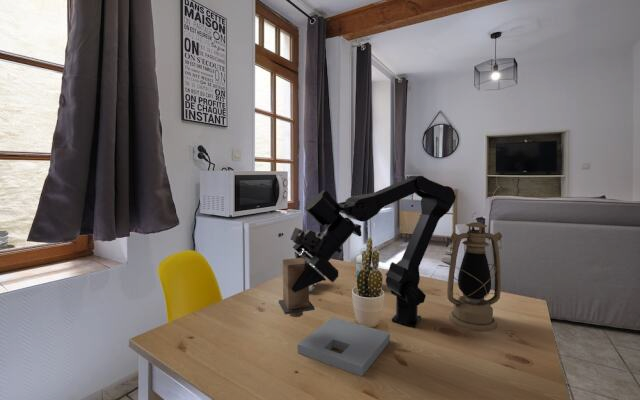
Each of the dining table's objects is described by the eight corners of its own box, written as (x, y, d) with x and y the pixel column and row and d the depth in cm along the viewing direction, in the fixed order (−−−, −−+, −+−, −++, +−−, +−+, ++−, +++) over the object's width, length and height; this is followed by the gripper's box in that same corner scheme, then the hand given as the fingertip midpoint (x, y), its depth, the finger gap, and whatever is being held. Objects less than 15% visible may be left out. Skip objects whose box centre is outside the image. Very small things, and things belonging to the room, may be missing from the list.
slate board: (332, 324, 86) (332, 317, 86) (389, 341, 78) (390, 333, 78) (297, 352, 73) (297, 344, 73) (362, 376, 64) (362, 367, 64)
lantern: (487, 310, 94) (491, 209, 92) (511, 330, 83) (518, 215, 80) (438, 311, 94) (441, 210, 92) (456, 331, 82) (460, 215, 80)
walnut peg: (305, 306, 82) (305, 256, 80) (314, 318, 75) (314, 263, 74) (278, 310, 79) (277, 259, 78) (285, 323, 73) (284, 267, 71)
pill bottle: (376, 283, 118) (377, 247, 117) (378, 290, 110) (378, 252, 109) (355, 282, 119) (356, 246, 117) (356, 290, 111) (356, 251, 110)
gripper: (300, 211, 85) (259, 256, 82) (324, 221, 68) (273, 279, 65) (327, 238, 88) (289, 282, 86) (358, 254, 71) (311, 310, 68)
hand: (290, 287), depth 76 cm, fingers closed on walnut peg, 5 cm apart
